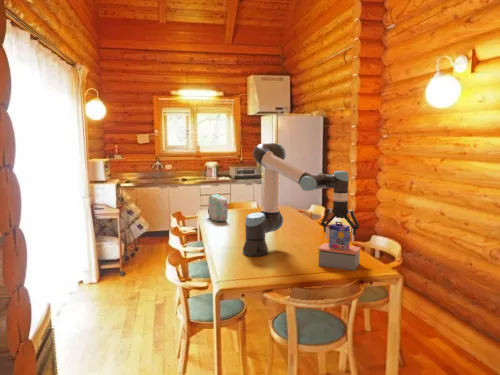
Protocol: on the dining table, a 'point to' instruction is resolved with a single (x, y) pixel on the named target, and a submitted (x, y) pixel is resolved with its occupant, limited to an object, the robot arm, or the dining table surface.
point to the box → (338, 260)
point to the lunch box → (217, 208)
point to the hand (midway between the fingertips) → (339, 239)
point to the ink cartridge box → (339, 236)
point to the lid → (351, 249)
